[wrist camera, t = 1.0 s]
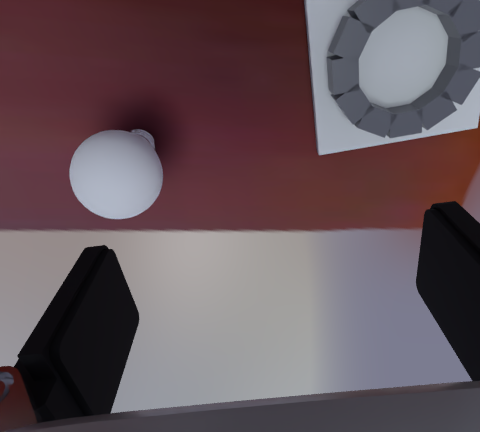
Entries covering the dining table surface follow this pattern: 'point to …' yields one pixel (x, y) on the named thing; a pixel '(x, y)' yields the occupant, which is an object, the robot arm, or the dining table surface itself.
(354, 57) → the segmented ring plate
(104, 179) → the light bulb
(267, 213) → the dining table surface
